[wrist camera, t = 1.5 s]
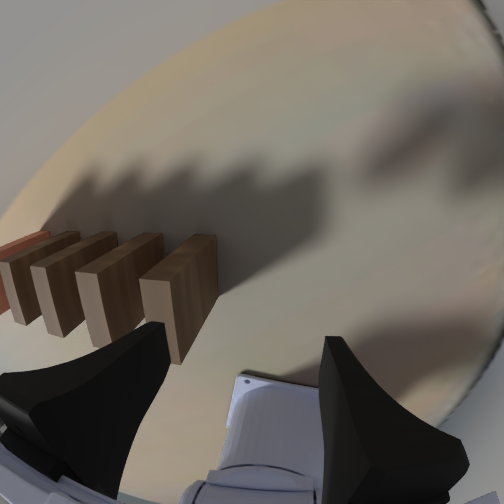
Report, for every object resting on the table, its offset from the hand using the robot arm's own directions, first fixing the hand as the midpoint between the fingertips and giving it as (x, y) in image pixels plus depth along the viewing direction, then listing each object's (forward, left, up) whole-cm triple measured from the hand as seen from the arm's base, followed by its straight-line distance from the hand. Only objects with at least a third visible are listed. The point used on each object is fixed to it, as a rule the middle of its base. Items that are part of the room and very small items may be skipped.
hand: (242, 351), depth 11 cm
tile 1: (+4, +1, -10) cm, 11 cm away
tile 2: (+8, +2, -10) cm, 14 cm away
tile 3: (+12, +3, -10) cm, 17 cm away
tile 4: (+17, +3, -10) cm, 20 cm away
